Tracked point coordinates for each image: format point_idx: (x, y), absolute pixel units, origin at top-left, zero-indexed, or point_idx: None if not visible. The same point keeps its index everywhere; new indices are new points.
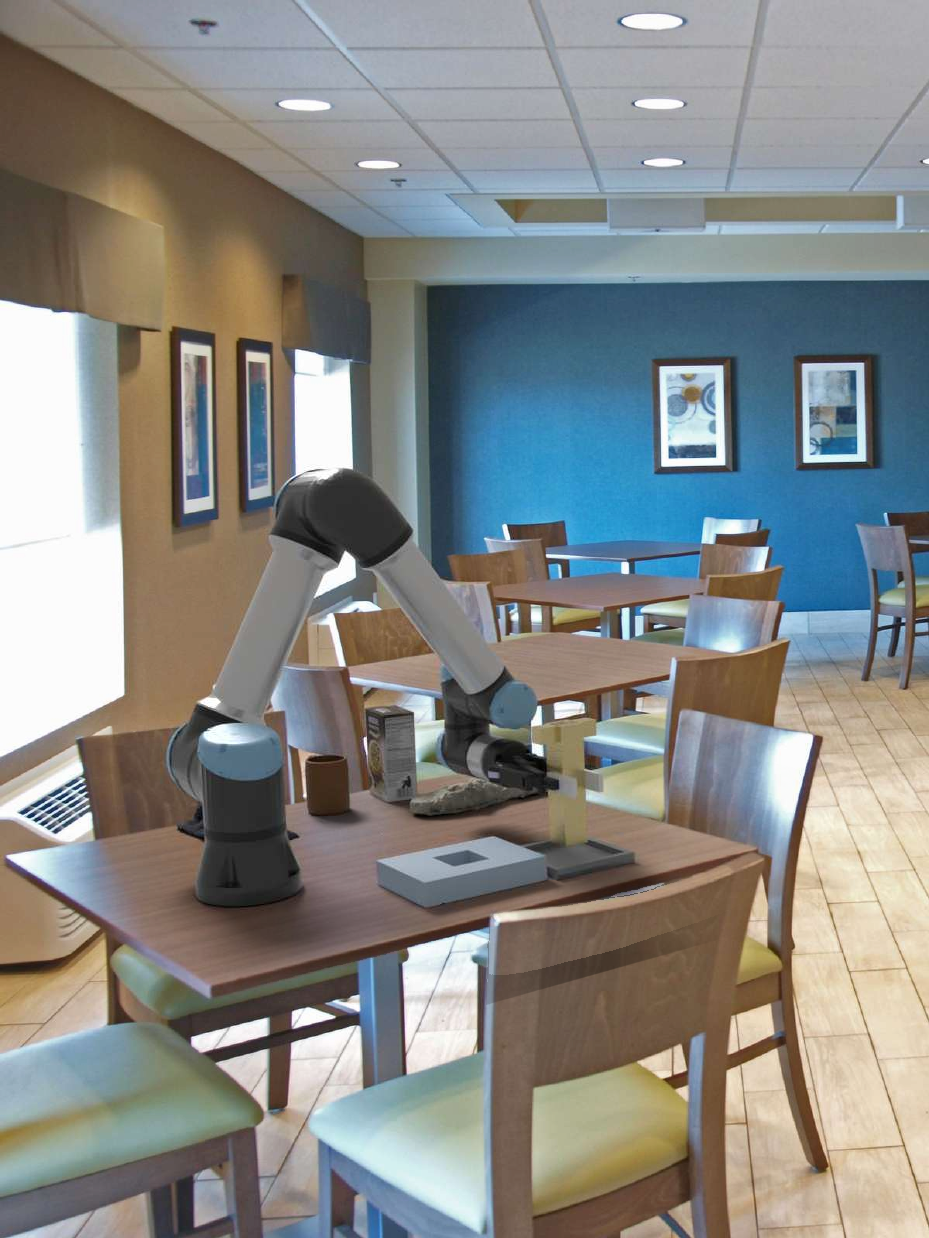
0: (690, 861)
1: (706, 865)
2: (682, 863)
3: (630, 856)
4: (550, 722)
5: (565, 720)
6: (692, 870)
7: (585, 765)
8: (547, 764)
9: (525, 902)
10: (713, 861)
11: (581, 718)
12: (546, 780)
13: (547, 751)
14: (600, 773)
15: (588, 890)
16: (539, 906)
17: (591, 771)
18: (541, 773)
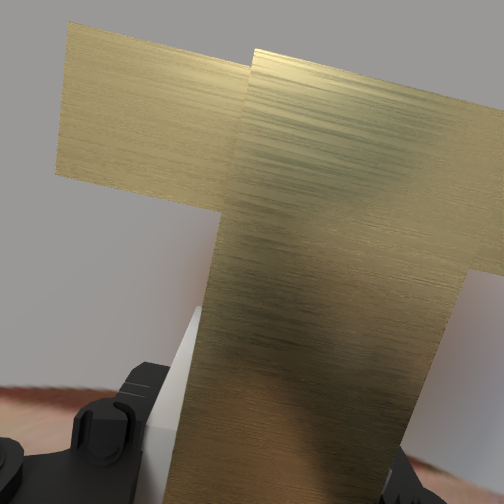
0: (25, 421)
1: (47, 391)
2: (48, 425)
3: None
4: (462, 104)
5: (292, 69)
6: (91, 394)
7: (16, 443)
8: (388, 457)
9: (431, 489)
10: (11, 394)
11: (129, 39)
12: (398, 451)
13: (418, 363)
14: (199, 310)
15: None
16: (408, 458)
17: (195, 334)
18: (427, 497)
